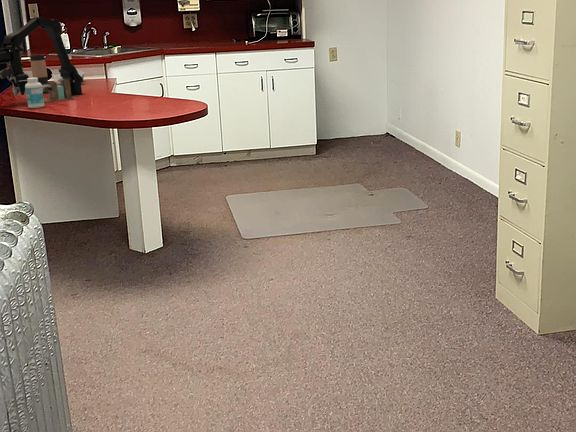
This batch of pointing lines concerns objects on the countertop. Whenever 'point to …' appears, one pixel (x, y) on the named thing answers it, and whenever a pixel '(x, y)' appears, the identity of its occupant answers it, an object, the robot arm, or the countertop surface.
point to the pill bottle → (34, 93)
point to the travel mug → (39, 69)
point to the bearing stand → (54, 91)
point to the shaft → (17, 90)
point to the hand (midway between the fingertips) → (20, 94)
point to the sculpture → (58, 78)
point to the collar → (60, 92)
